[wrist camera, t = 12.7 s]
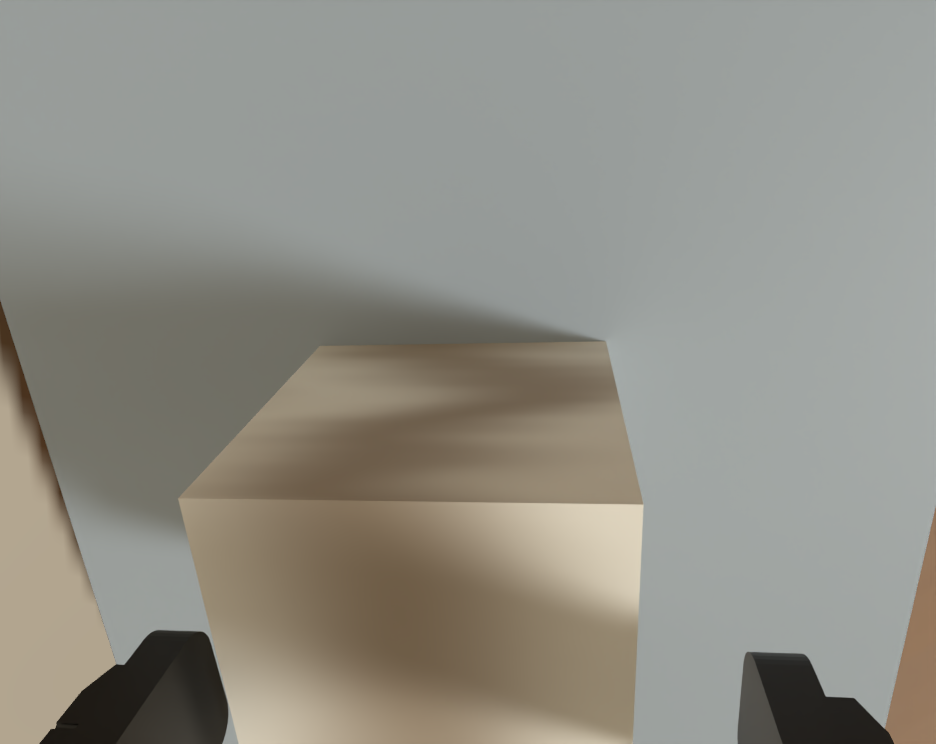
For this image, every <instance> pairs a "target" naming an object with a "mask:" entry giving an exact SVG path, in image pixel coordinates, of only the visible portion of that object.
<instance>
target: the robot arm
mask: <svg viewBox="0 0 936 744" xmlns="http://www.w3.org/2000/svg"><path fill="white" fill-rule="evenodd" d="M227 724H228V703H227V699H226V695H225V691H224V688H223V684H222V681H221V677H220V674H219V670H218V667H217V663H216V659H215V656H214V652H213V649H212V645H211V642H210V639H209V637H208V635H207V634H206V633H204V632H201V631H174V630H156V631H153V632H151V633H150V634H149V635H147V636H146V638H145V639H144V640H143V641H142V643H141V644H140V645H139V646H138V648H137V649H136V650H135V652H134V653H133V654H132V656H131V657H130V658H129V659H128V661H127V662H126V663H125V665H119V664H116V665H115V666H114V667H112V668H111V669H110V670H108V671H107V672H106V673H104V674H103V675H102V676H101V677H99V678H98V679H97V680H95V681H94V682H93V683H92V684H90V685H89V686H88V687H87V688H85V689H84V690H83V691H82V692H81V693H80V694H79V695H78V697H77V698H76V699H75V701H73V703H72V704H71V705H70V707H69V708H68V709H67V710H66V711H65V713H64V714H63V715H62V716H61V718H60V719H59V720H58V721H57V725H56V728H55V729H51V730H50V731H49V732H48V734H47V735H46V736H45V737H44V739H43V740H42V741H41V742H40V744H222V743H223V741H224V737H225V734H226V730H227ZM737 740H738V744H894V742H893V740H892V738H891V736H890V735H889V733H888V732H887V731H886V730H885V729H884V728H883V727H882V726H881V725H880V724H879V723H878V722H877V721H876V720H875V719H874V718H873V717H872V716H871V715H870V713H869V712H868V711H867V710H866V709H865V708H864V707H863V706H862V705H861V704H860V703H859V702H858V701H857V700H856V699H855V698H846V697H826V696H825V694H824V691H823V689H822V687H821V684H820V682H819V680H818V677H817V675H816V673H815V671H814V668H813V666H812V664H811V662H810V660H809V658H808V657H807V656H806V655H805V654H800V653H770V652H747V653H746V654H745V657H744V663H743V674H742V685H741V696H740V708H739V719H738V732H737Z"/></svg>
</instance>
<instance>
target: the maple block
mask: <svg viewBox="0 0 936 744" xmlns="http://www.w3.org/2000/svg"><path fill="white" fill-rule="evenodd" d="M178 501H179V505H180V509H181V513H182V517H183V521H184V525H185V529H186V533H187V537H188V541H189V545H190V549H191V553H192V557H193V561H194V565H195V569H196V573H197V578H198V582H199V586H200V590H201V594H202V598H203V602H204V606H205V610H206V614H207V618H208V622H209V626H210V630H211V634H212V638H213V642H214V646H215V650H216V655H217V659H218V663H219V667H220V671H221V675H222V679H223V683H224V687H225V691H226V695H227V699H228V703H229V707H230V711H231V715H232V719H233V723H234V727H235V732H236V736H237V740H238V744H633V725H634V703H635V682H636V660H637V638H638V616H639V594H640V572H641V550H642V528H643V506H644V504H643V500H642V496H641V491H640V487H639V483H638V478H637V474H636V470H635V465H634V461H633V457H632V452H631V448H630V443H629V439H628V435H627V430H626V426H625V422H624V417H623V413H622V409H621V404H620V400H619V396H618V391H617V387H616V383H615V378H614V374H613V370H612V365H611V361H610V357H609V352H608V348H607V344H606V341H595V342H531V343H468V344H405V345H342V346H319V347H318V348H317V350H316V351H315V352H314V353H313V354H312V355H311V356H310V357H309V358H308V359H307V360H306V361H305V362H304V363H303V365H302V366H301V367H300V368H299V369H298V370H297V371H296V372H295V373H294V374H293V375H292V376H291V377H290V379H289V380H288V381H287V382H286V383H285V384H284V385H283V386H282V387H281V388H280V389H279V390H278V391H277V392H276V394H275V395H274V396H273V397H272V398H271V399H270V400H269V401H268V402H267V403H266V404H265V405H264V406H263V408H262V409H261V410H260V411H259V412H258V413H257V414H256V415H255V416H254V417H253V418H252V419H251V420H250V422H249V423H248V424H247V425H246V426H245V427H244V428H243V429H242V430H241V431H240V432H239V433H238V434H237V435H236V437H235V438H234V439H233V440H232V441H231V442H230V443H229V444H228V445H227V446H226V447H225V448H224V449H223V451H222V452H221V453H220V454H219V455H218V456H217V457H216V458H215V459H214V460H213V461H212V462H211V463H210V464H209V466H208V467H207V468H206V469H205V470H204V471H203V472H202V473H201V474H200V475H199V476H198V477H197V478H196V480H195V481H194V482H193V483H192V484H191V485H190V486H189V487H188V488H187V489H186V490H185V491H184V492H183V493H182V495H181V496H180V497H179V498H178Z"/></svg>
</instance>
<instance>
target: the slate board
mask: <svg viewBox="0 0 936 744" xmlns="http://www.w3.org/2000/svg"><path fill="white" fill-rule="evenodd" d="M0 301H1V304H2V307H3V310H4V313H5V317H6V320H7V323H8V326H9V329H10V332H11V335H12V338H13V342H14V345H15V348H16V351H17V354H18V357H19V360H20V364H21V367H22V370H23V373H24V376H25V379H26V382H27V385H28V389H29V392H30V395H31V398H32V401H33V404H34V407H35V411H36V414H37V417H38V420H39V423H40V426H41V429H42V432H43V436H44V439H45V442H46V445H47V448H48V451H49V454H50V458H51V461H52V464H53V467H54V470H55V473H56V476H57V479H58V483H59V486H60V489H61V492H62V495H63V498H64V501H65V505H66V508H67V511H68V514H69V517H70V520H71V523H72V526H73V530H74V533H75V536H76V539H77V542H78V545H79V548H80V552H81V555H82V558H83V561H84V564H85V567H86V570H87V573H88V577H89V580H90V583H91V586H92V589H93V592H94V595H95V599H96V602H97V605H98V608H99V611H100V614H101V617H102V620H103V624H104V627H105V630H106V633H107V636H108V639H109V642H110V646H111V648H112V652H113V655H114V658H115V661H116V664H119V665H125V663H126V662H127V661H128V659H129V658H130V657H131V656H132V654H133V653H134V652H135V650H136V649H137V648H138V646H139V645H140V644H141V643H142V641H143V640H144V639H145V638H146V636H147V635H149V634H150V633H151V632H153V631H156V630H174V631H201V632H204V633H206V634H207V635H208V637H209V639H210V642H211V645H212V649H213V652H214V656H215V659H216V663H217V667H218V670H219V674H220V677H221V681H222V684H223V688H224V691H225V687H224V683H223V679H222V675H221V671H220V667H219V663H218V659H217V655H216V650H215V646H214V642H213V638H212V634H211V630H210V626H209V622H208V618H207V614H206V610H205V606H204V602H203V598H202V594H201V590H200V586H199V582H198V578H197V573H196V569H195V565H194V561H193V557H192V553H191V549H190V545H189V541H188V537H187V533H186V529H185V525H184V521H183V517H182V513H181V509H180V505H179V501H178V498H179V497H180V496H181V495H182V493H183V492H184V491H185V490H186V489H187V488H188V487H189V486H190V485H191V484H192V483H193V482H194V481H195V480H196V478H197V477H198V476H199V475H200V474H201V473H202V472H203V471H204V470H205V469H206V468H207V467H208V466H209V464H210V463H211V462H212V461H213V460H214V459H215V458H216V457H217V456H218V455H219V454H220V453H221V452H222V451H223V449H224V448H225V447H226V446H227V445H228V444H229V443H230V442H231V441H232V440H233V439H234V438H235V437H236V435H237V434H238V433H239V432H240V431H241V430H242V429H243V428H244V427H245V426H246V425H247V424H248V423H249V422H250V420H251V419H252V418H253V417H254V416H255V415H256V414H257V413H258V412H259V411H260V410H261V409H262V408H263V406H264V405H265V404H266V403H267V402H268V401H269V400H270V399H271V398H272V397H273V396H274V395H275V394H276V392H277V391H278V390H279V389H280V388H281V387H282V386H283V385H284V384H285V383H286V382H287V381H288V380H289V379H290V377H291V376H292V375H293V374H294V373H295V372H296V371H297V370H298V369H299V368H300V367H301V366H302V365H303V363H304V362H305V361H306V360H307V359H308V358H309V357H310V356H311V355H312V354H313V353H314V352H315V351H316V350H317V348H318V347H319V346H342V345H405V344H468V343H531V342H595V341H606V344H607V348H608V352H609V357H610V361H611V365H612V370H613V374H614V378H615V383H616V387H617V391H618V396H619V400H620V404H621V409H622V413H623V417H624V422H625V426H626V430H627V435H628V439H629V443H630V448H631V452H632V457H633V461H634V465H635V470H636V474H637V478H638V483H639V487H640V491H641V496H642V500H643V504H644V506H643V528H642V550H641V572H640V594H639V616H638V638H637V660H636V682H635V703H634V725H633V744H738V740H737V732H738V719H739V708H740V696H741V685H742V674H743V663H744V657H745V654H746V653H747V652H770V653H800V654H805V655H806V656H807V657H808V658H809V660H810V662H811V664H812V666H813V668H814V671H815V673H816V675H817V677H818V680H819V682H820V684H821V687H822V689H823V691H824V694H825V696H826V697H846V698H855V699H856V700H857V701H858V702H859V703H860V704H861V705H862V706H863V707H864V708H865V709H866V710H867V711H868V712H869V713H870V715H871V716H872V717H873V718H874V719H875V720H876V721H877V722H878V723H879V724H880V725H881V726H882V727H883V728H884V729H885V725H886V721H887V716H888V712H889V707H890V703H891V699H892V694H893V690H894V686H895V681H896V677H897V673H898V668H899V664H900V659H901V655H902V651H903V646H904V642H905V638H906V633H907V629H908V625H909V620H910V616H911V611H912V607H913V603H914V598H915V594H916V590H917V585H918V581H919V577H920V572H921V568H922V563H923V559H924V555H925V550H926V546H927V542H928V537H929V533H930V529H931V524H932V520H933V515H934V511H935V507H936V0H0ZM225 695H226V691H225ZM226 699H227V695H226ZM227 703H228V699H227ZM222 744H238V740H237V736H236V732H235V727H234V723H233V719H232V715H231V711H230V707H229V703H228V724H227V730H226V734H225V737H224V741H223V743H222Z"/></svg>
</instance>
